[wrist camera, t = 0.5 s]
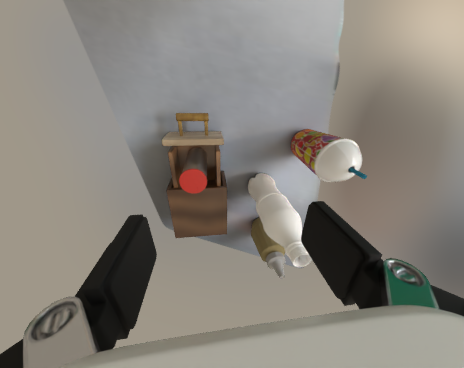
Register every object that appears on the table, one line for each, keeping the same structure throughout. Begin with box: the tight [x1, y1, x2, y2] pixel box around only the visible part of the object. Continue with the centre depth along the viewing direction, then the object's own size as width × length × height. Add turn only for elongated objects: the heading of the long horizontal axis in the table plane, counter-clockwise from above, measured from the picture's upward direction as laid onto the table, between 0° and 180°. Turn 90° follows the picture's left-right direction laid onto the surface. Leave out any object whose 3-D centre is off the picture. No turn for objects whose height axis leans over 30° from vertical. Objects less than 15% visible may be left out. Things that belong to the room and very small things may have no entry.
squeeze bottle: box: [251, 217, 286, 279], centre depth 47 cm, size 8×8×18 cm
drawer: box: [162, 113, 224, 188], centre depth 37 cm, size 17×11×7 cm
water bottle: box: [248, 173, 312, 267], centre depth 37 cm, size 7×7×25 cm
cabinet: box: [166, 171, 227, 238], centre depth 43 cm, size 14×13×9 cm
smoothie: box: [291, 129, 367, 182], centre depth 35 cm, size 8×8×20 cm
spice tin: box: [179, 148, 207, 193], centre depth 34 cm, size 5×5×12 cm
